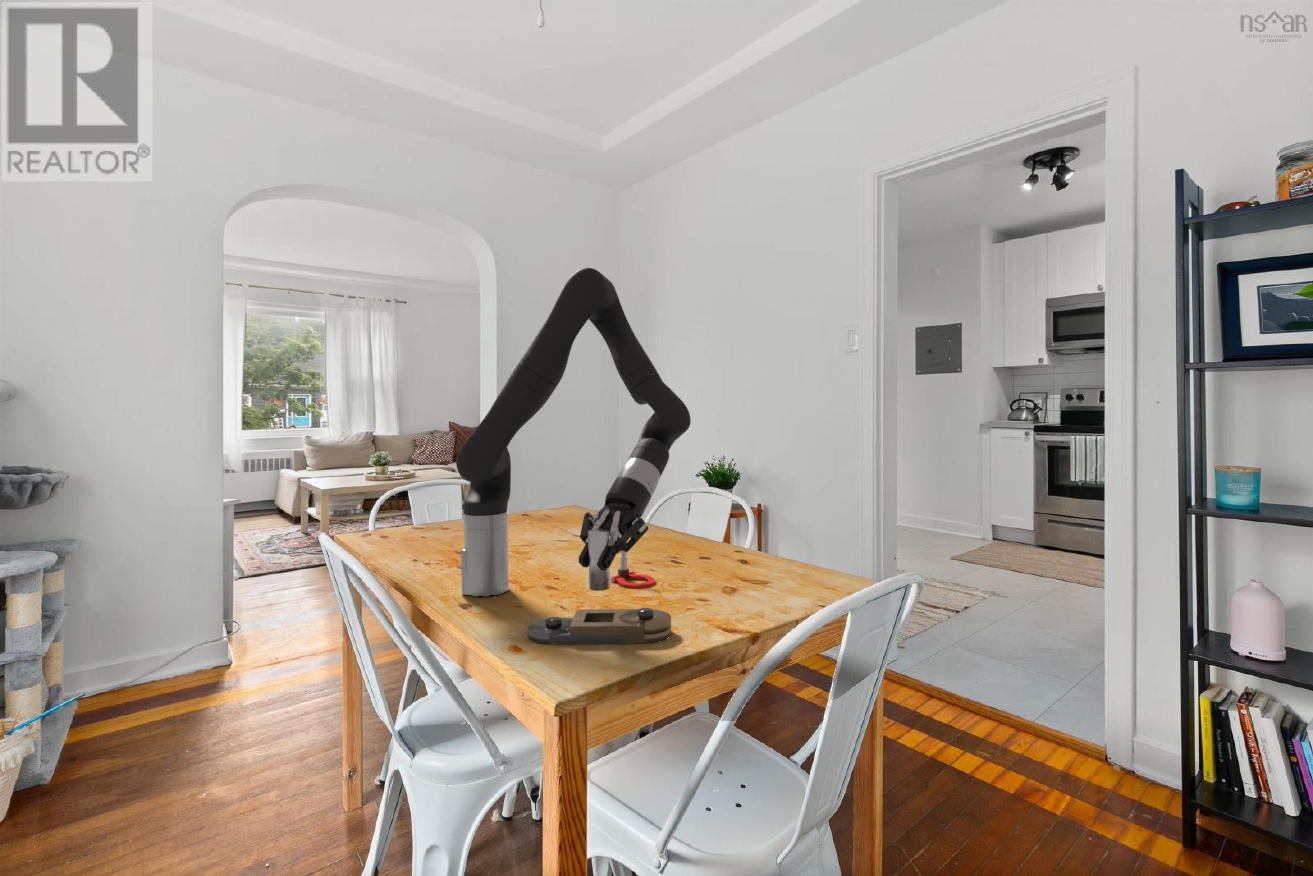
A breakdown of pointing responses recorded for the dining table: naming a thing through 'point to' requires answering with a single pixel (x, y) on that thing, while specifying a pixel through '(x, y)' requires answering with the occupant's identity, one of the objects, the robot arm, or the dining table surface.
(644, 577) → the tow hook
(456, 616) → the dining table surface
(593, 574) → the steel pin
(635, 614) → the square hole link plate
